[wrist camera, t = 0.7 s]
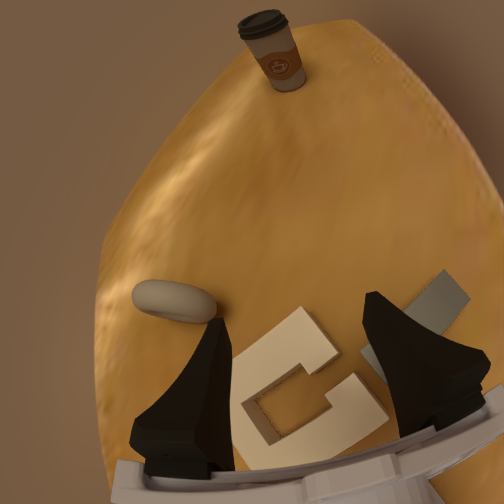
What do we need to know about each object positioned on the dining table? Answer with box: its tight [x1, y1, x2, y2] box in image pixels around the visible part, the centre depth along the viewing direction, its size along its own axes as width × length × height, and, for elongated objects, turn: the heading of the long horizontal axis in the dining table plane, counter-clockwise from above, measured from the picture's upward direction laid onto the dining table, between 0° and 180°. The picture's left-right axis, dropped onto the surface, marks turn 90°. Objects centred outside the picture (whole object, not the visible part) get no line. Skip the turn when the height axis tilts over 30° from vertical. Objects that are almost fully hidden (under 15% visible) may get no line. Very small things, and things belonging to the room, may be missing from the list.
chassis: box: [230, 306, 390, 485], centre depth 25 cm, size 14×14×4 cm
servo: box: [360, 269, 471, 384], centre depth 22 cm, size 4×11×6 cm, turn 125°
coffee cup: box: [238, 9, 306, 92], centre depth 39 cm, size 8×8×15 cm
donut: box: [132, 280, 217, 323], centre depth 31 cm, size 10×4×10 cm, turn 85°
